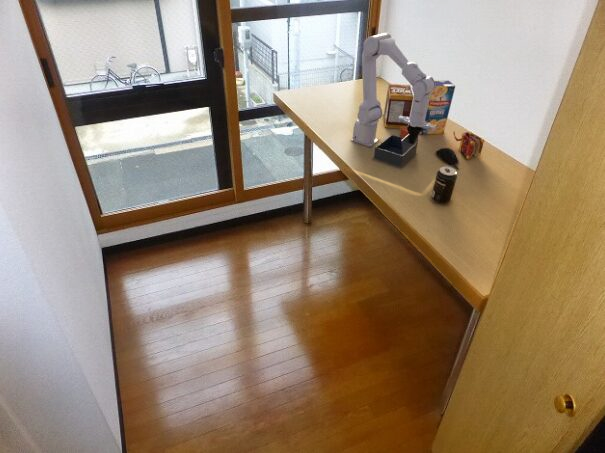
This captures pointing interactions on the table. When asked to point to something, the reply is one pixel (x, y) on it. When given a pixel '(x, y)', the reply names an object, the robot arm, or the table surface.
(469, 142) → the book monster
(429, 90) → the robot arm
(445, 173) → the beverage can
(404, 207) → the table surface
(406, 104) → the supplement box
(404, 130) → the small box
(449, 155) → the gaming mouse
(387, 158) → the storage box
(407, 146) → the flap
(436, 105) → the beverage box
